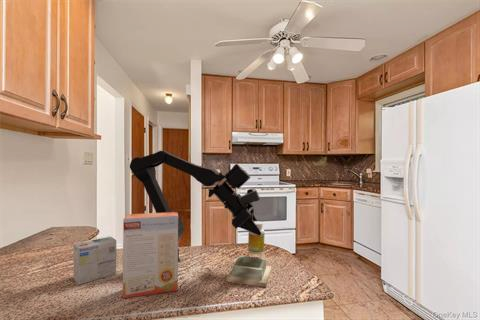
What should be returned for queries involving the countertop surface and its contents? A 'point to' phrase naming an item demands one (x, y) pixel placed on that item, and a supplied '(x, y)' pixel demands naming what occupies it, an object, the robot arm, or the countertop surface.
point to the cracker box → (150, 253)
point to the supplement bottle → (256, 240)
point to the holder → (250, 271)
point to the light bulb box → (94, 259)
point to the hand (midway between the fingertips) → (260, 231)
